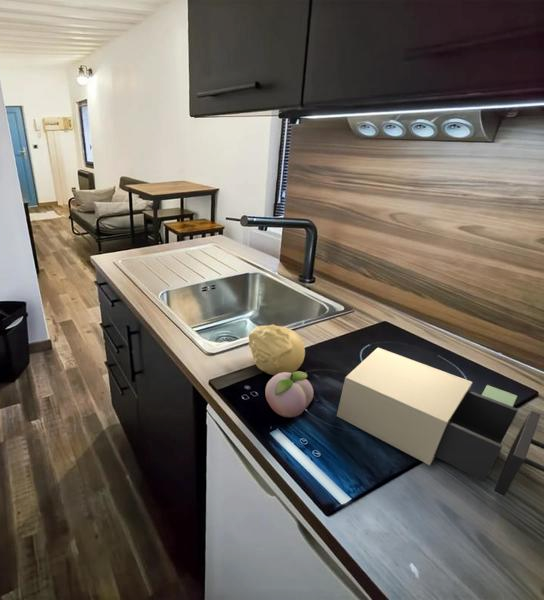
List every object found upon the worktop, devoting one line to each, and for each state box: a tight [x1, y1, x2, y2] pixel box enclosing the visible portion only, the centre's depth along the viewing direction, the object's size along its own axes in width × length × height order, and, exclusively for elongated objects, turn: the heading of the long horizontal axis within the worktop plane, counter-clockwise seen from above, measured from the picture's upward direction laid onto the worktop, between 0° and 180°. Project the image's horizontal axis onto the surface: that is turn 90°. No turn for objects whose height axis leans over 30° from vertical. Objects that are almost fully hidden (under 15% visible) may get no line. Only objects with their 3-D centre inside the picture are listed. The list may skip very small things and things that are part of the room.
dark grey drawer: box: [434, 390, 544, 497], centre depth 60 cm, size 20×13×8 cm
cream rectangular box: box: [336, 347, 473, 466], centre depth 69 cm, size 16×15×10 cm
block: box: [481, 384, 518, 407], centre depth 70 cm, size 4×4×4 cm
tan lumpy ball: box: [248, 323, 306, 377], centre depth 85 cm, size 11×12×11 cm
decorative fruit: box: [264, 370, 314, 418], centre depth 71 cm, size 9×8×10 cm
